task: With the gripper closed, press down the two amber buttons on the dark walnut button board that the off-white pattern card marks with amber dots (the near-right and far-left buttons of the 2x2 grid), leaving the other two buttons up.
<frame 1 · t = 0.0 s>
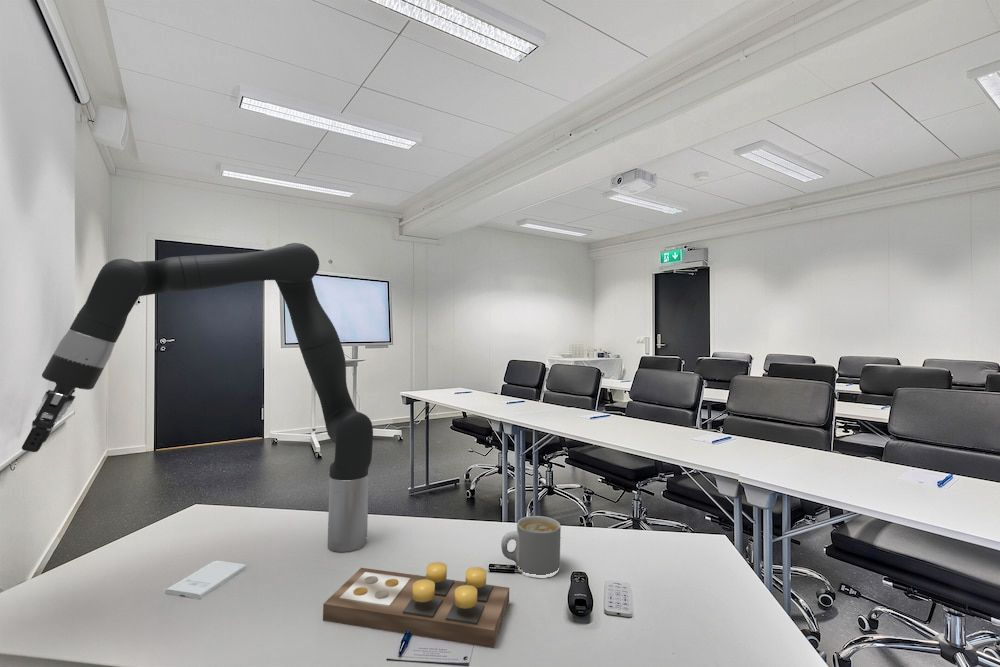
hand: (33, 445, 83), 31 cm above the table, tool tilted 20°, fingers open, 8 cm apart
button D: (466, 596, 85), point 6 cm above the table, slide at 0.0 cm
button board: (419, 611, 90), on the table
button B: (423, 590, 86), point 6 cm above the table, slide at 0.0 cm
coffee mug: (530, 568, 108), on the table
button A: (436, 572, 93), point 6 cm above the table, slide at 0.0 cm
external hard drive: (207, 584, 99), on the table
button C: (475, 577, 91), point 6 cm above the table, slide at 0.0 cm
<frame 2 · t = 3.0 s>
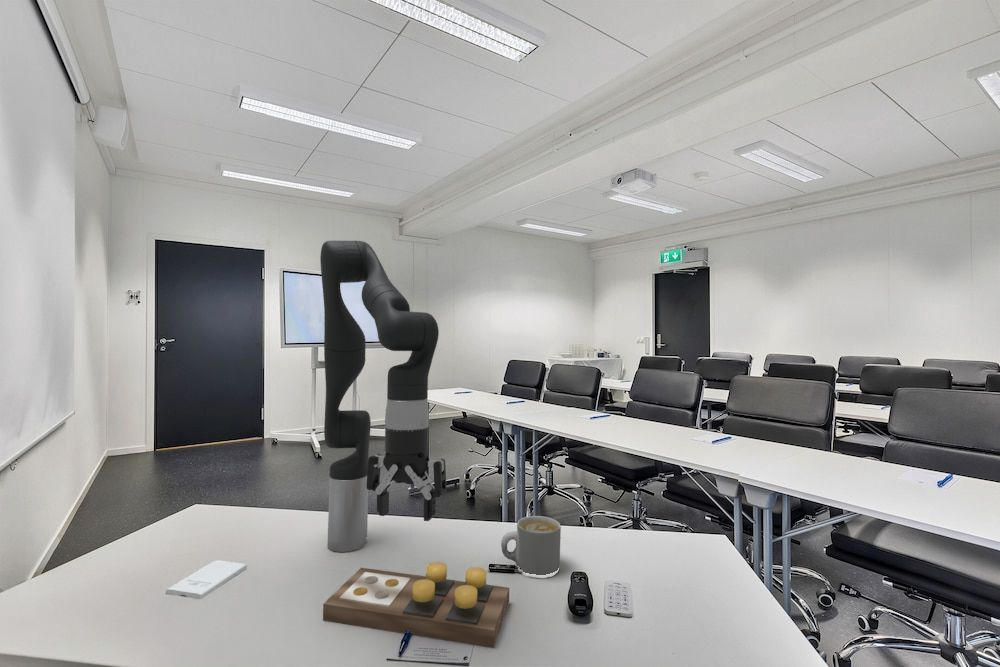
hand: (405, 517, 83), 21 cm above the table, tool pointing down, fingers open, 8 cm apart
nothing on the table moved.
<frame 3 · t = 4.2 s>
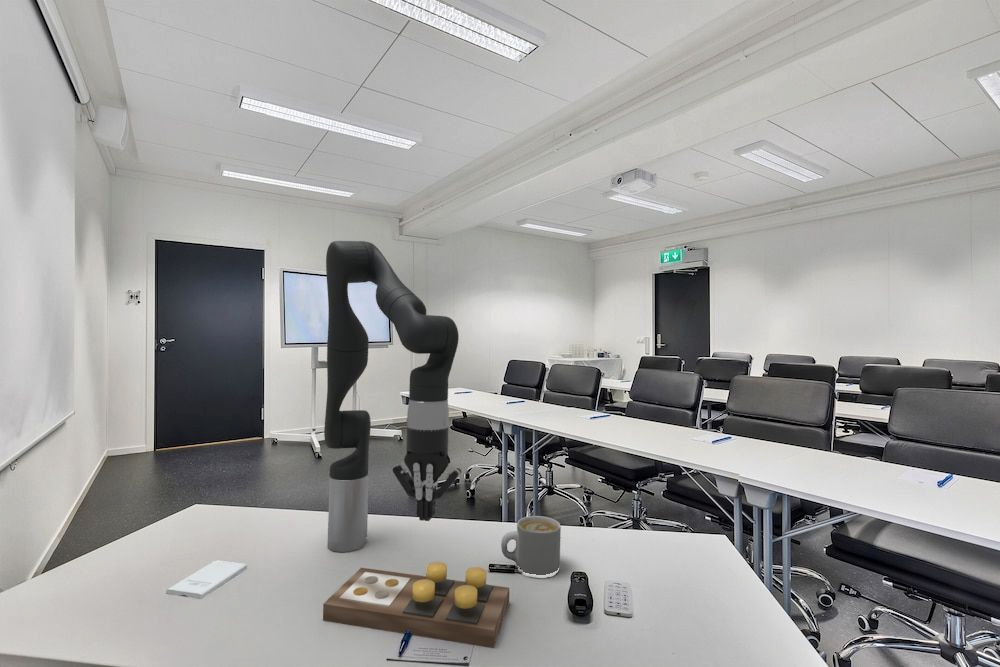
hand: (425, 519, 86), 19 cm above the table, tool pointing down, fingers closed
nothing on the table moved.
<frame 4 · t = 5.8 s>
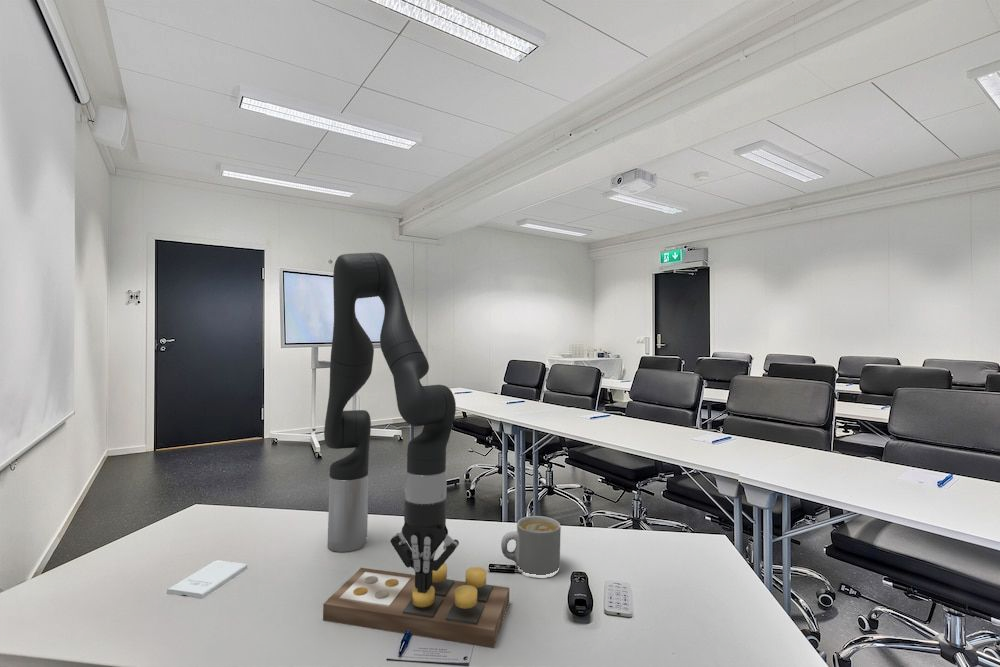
hand: (423, 590, 86), 6 cm above the table, tool pointing down, fingers closed
button B: (423, 595, 86), point 5 cm above the table, slide at 0.9 cm, touching gripper
everything else where it was.
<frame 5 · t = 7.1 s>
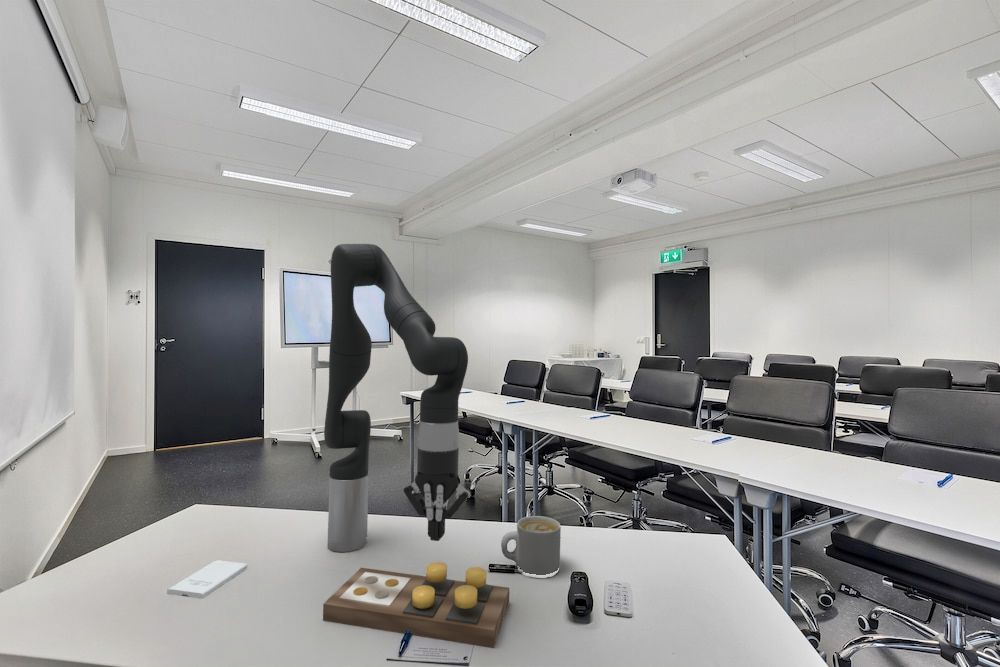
hand: (435, 538, 87), 15 cm above the table, tool pointing down, fingers closed
button B: (423, 596, 86), point 5 cm above the table, slide at 1.1 cm
everything else where it was.
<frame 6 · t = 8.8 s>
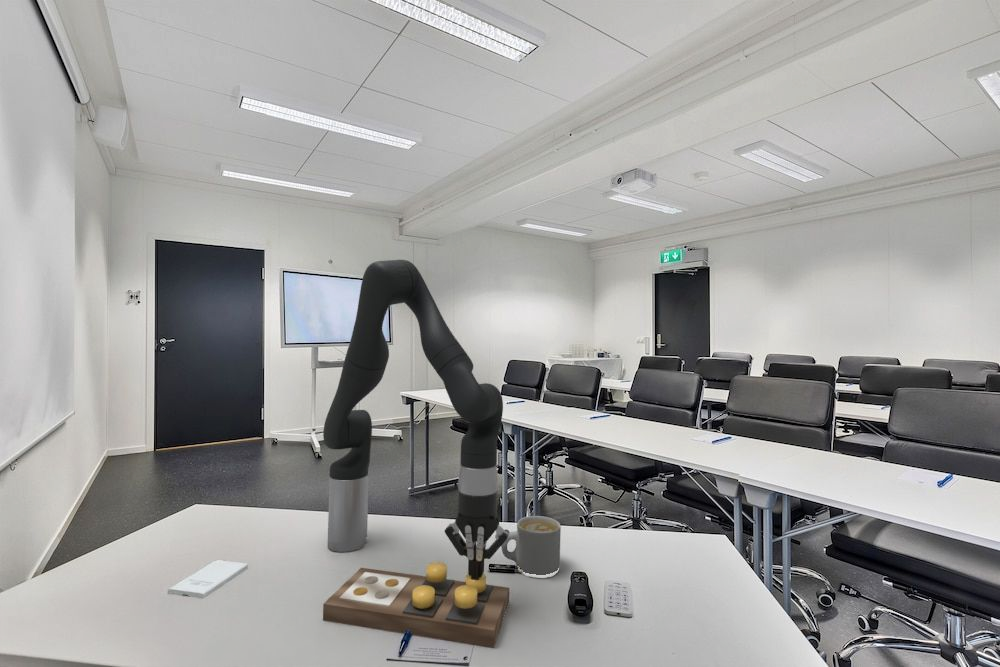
hand: (475, 577, 91), 6 cm above the table, tool pointing down, fingers closed
button C: (475, 582, 91), point 5 cm above the table, slide at 1.0 cm, touching gripper
everything else where it was.
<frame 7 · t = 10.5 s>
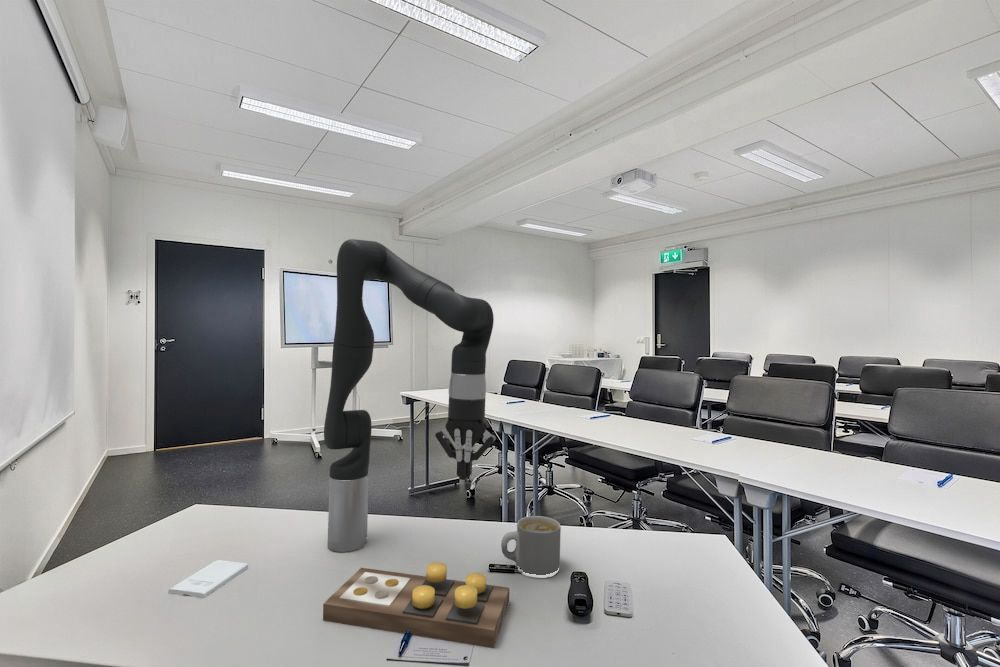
hand: (463, 478, 97), 23 cm above the table, tool pointing down, fingers closed
button C: (475, 583, 91), point 5 cm above the table, slide at 1.1 cm
everything else where it was.
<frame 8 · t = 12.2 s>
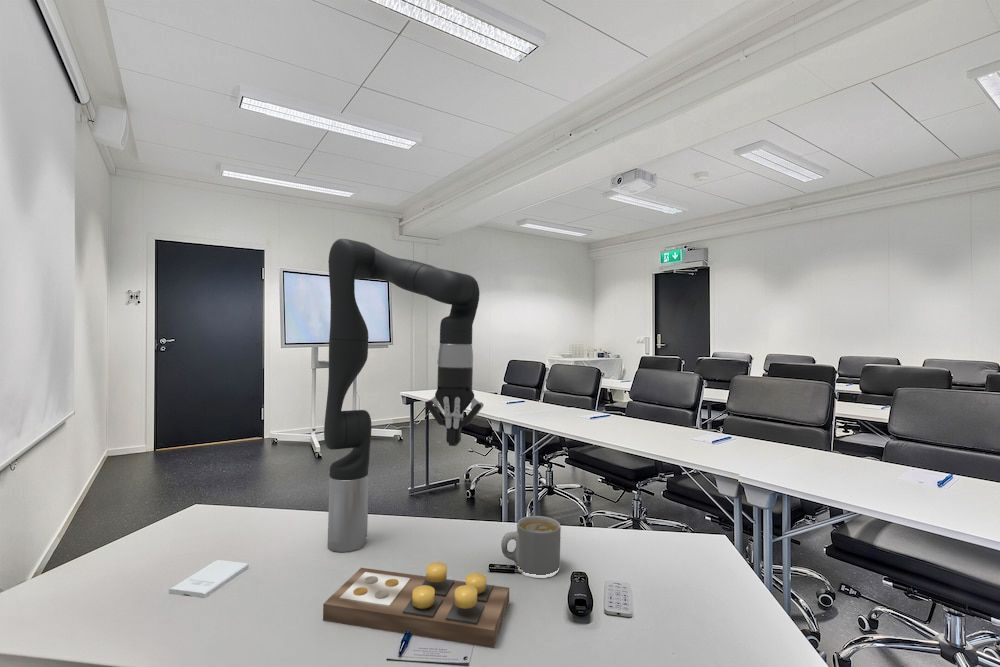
hand: (453, 445, 102), 29 cm above the table, tool pointing down, fingers closed
nothing on the table moved.
at the end: button B slide at 1.1 cm; button C slide at 1.1 cm; button D slide at 0.0 cm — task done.
